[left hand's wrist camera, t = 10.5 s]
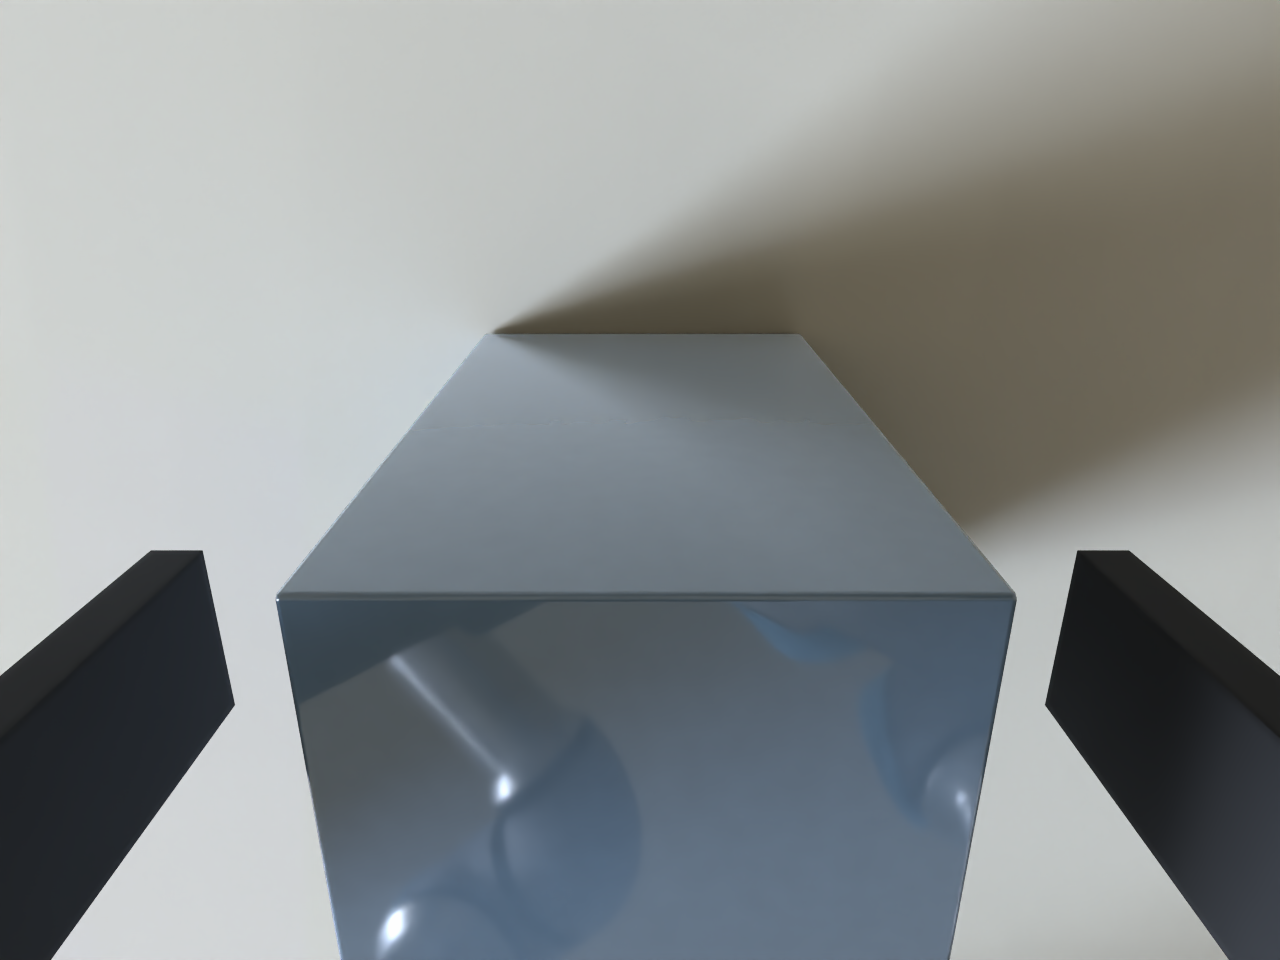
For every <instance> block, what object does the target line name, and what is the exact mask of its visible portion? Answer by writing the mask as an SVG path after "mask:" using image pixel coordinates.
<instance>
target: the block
mask: <svg viewBox="0 0 1280 960" xmlns="http://www.w3.org/2000/svg"><path fill="white" fill-rule="evenodd" d="M1016 601H1017V597H1016V594H1015V592H1014V591H1013V589H1012V588H1011V587H1010V586H1009V585H1008V583H1007V582H1006V581H1005V580H1004V579H1003V577H1002V576H1001V575H1000V574H999V573H998V571H997V570H996V569H995V568H994V567H993V565H992V564H991V563H990V562H989V561H988V559H987V558H986V557H985V556H984V555H983V553H982V552H981V551H980V550H979V549H978V547H977V546H976V545H975V544H974V543H973V541H972V540H971V539H970V538H969V537H968V535H967V534H966V533H965V532H964V531H963V529H962V528H961V527H960V526H959V525H958V523H957V522H956V521H955V520H954V519H953V517H952V516H951V515H950V514H949V513H948V511H947V510H946V509H945V508H944V507H943V505H942V504H941V503H940V502H939V501H938V499H937V498H936V497H935V496H934V495H933V493H932V492H931V491H930V490H929V488H928V487H927V486H926V485H925V484H924V482H923V481H922V480H921V479H920V478H919V476H918V475H917V474H916V473H915V472H914V470H913V469H912V468H911V467H910V466H909V464H908V463H907V462H906V461H905V460H904V458H903V457H902V456H901V455H900V454H899V452H898V451H897V450H896V449H895V448H894V446H893V445H892V444H891V443H890V442H889V440H888V439H887V438H886V437H885V436H884V434H883V433H882V432H881V431H880V430H879V428H878V427H877V426H876V425H875V424H874V422H873V421H872V420H871V419H870V418H869V416H868V415H867V414H866V413H865V412H864V410H863V409H862V408H861V407H860V406H859V404H858V403H857V402H856V401H855V400H854V398H853V397H852V396H851V395H850V393H849V392H848V391H847V390H846V389H845V387H844V386H843V385H842V384H841V383H840V381H839V380H838V379H837V378H836V377H835V375H834V374H833V373H832V372H831V371H830V369H829V368H828V367H827V366H826V365H825V363H824V362H823V361H822V360H821V359H820V357H819V356H818V355H817V354H816V353H815V351H814V350H813V349H812V348H811V347H810V345H809V344H808V343H807V342H806V341H805V339H804V338H803V337H802V336H801V335H800V334H485V335H484V336H483V337H482V338H481V340H480V341H479V342H478V343H477V345H476V346H475V347H474V348H473V350H472V351H471V352H470V353H469V355H468V356H467V357H466V358H465V360H464V361H463V362H462V363H461V365H460V366H459V367H458V368H457V370H456V371H455V372H454V373H453V375H452V376H451V377H450V378H449V380H448V381H447V382H446V383H445V385H444V386H443V387H442V388H441V389H440V391H439V392H438V393H437V394H436V396H435V397H434V398H433V399H432V401H431V402H430V403H429V404H428V406H427V407H426V408H425V409H424V411H423V412H422V413H421V414H420V416H419V417H418V418H417V419H416V421H415V422H414V423H413V424H412V426H411V427H410V428H409V429H408V431H407V432H406V433H405V434H404V436H403V437H402V438H401V439H400V441H399V442H398V443H397V444H396V446H395V447H394V448H393V449H392V450H391V452H390V453H389V454H388V455H387V457H386V458H385V459H384V460H383V462H382V463H381V464H380V465H379V467H378V468H377V469H376V470H375V472H374V473H373V474H372V475H371V477H370V478H369V479H368V480H367V482H366V483H365V484H364V485H363V487H362V488H361V489H360V490H359V492H358V493H357V494H356V495H355V497H354V498H353V499H352V500H351V502H350V503H349V504H348V505H347V507H346V508H345V509H344V510H343V511H342V513H341V514H340V515H339V516H338V518H337V519H336V520H335V521H334V523H333V524H332V525H331V526H330V528H329V529H328V530H327V531H326V533H325V534H324V535H323V536H322V538H321V539H320V540H319V541H318V543H317V544H316V545H315V546H314V548H313V549H312V550H311V551H310V553H309V554H308V555H307V556H306V558H305V559H304V560H303V561H302V563H301V564H300V565H299V566H298V567H297V569H296V570H295V571H294V572H293V574H292V575H291V576H290V577H289V579H288V580H287V581H286V582H285V584H284V585H283V586H282V587H281V589H280V590H279V591H278V592H277V595H276V604H277V610H278V615H279V621H280V626H281V632H282V637H283V643H284V648H285V654H286V660H287V665H288V671H289V676H290V682H291V687H292V693H293V698H294V704H295V709H296V715H297V721H298V726H299V732H300V737H301V743H302V748H303V754H304V759H305V765H306V770H307V776H308V782H309V787H310V793H311V798H312V804H313V809H314V815H315V820H316V826H317V832H318V837H319V843H320V848H321V854H322V859H323V865H324V870H325V876H326V881H327V887H328V893H329V898H330V904H331V909H332V915H333V920H334V926H335V931H336V937H337V942H338V948H339V954H340V959H341V960H950V955H951V949H952V944H953V939H954V933H955V928H956V923H957V917H958V912H959V907H960V901H961V896H962V890H963V885H964V880H965V874H966V869H967V864H968V858H969V853H970V847H971V842H972V837H973V831H974V826H975V821H976V815H977V810H978V805H979V799H980V794H981V788H982V783H983V778H984V772H985V767H986V762H987V756H988V751H989V746H990V740H991V735H992V729H993V724H994V719H995V713H996V708H997V703H998V697H999V692H1000V686H1001V681H1002V676H1003V670H1004V665H1005V660H1006V654H1007V649H1008V644H1009V638H1010V633H1011V627H1012V622H1013V617H1014V611H1015V606H1016Z"/></svg>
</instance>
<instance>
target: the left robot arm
mask: <svg viewBox="0 0 1280 960" xmlns="http://www.w3.org/2000/svg"><path fill="white" fill-rule="evenodd" d="M234 705H235V703H234V698H233V694H232V689H231V684H230V679H229V674H228V670H227V665H226V660H225V655H224V651H223V646H222V641H221V636H220V632H219V627H218V622H217V617H216V612H215V608H214V603H213V598H212V593H211V589H210V584H209V579H208V574H207V570H206V565H205V560H204V555H203V551H150V552H149V553H147V554H146V555H145V556H144V557H143V558H141V559H140V560H139V561H138V562H137V563H135V564H134V565H133V566H132V567H131V568H129V569H128V570H127V571H126V572H125V573H123V574H122V575H121V576H120V577H119V578H117V579H116V580H115V581H114V582H113V583H111V584H110V585H109V586H108V587H107V588H105V589H104V590H103V591H102V592H101V593H99V594H98V595H97V596H96V597H95V598H93V599H92V600H91V601H90V602H89V603H87V604H86V605H85V606H84V607H83V608H81V609H80V610H79V611H78V612H77V613H75V614H74V615H73V616H72V617H70V618H69V619H68V620H67V621H66V622H64V623H63V624H62V625H61V626H60V627H58V628H57V629H56V630H55V631H54V632H52V633H51V634H50V635H49V636H48V637H46V638H45V639H44V640H43V641H42V642H40V643H39V644H38V645H37V646H36V647H34V648H33V649H32V650H31V651H30V652H28V653H27V654H26V655H25V656H24V657H22V658H21V659H20V660H19V661H18V662H16V663H15V664H14V665H13V666H12V667H10V668H9V669H8V670H7V671H6V672H4V673H3V674H2V675H1V676H0V960H51V959H52V958H53V956H54V955H55V953H56V952H57V951H58V949H59V948H60V946H61V945H62V944H63V942H64V941H65V940H66V938H67V937H68V935H69V934H70V933H71V931H72V930H73V928H74V927H75V926H76V924H77V923H78V922H79V920H80V919H81V917H82V916H83V915H84V913H85V912H86V910H87V909H88V908H89V906H90V905H91V904H92V902H93V901H94V899H95V898H96V897H97V895H98V894H99V892H100V891H101V890H102V888H103V887H104V886H105V884H106V883H107V881H108V880H109V879H110V877H111V876H112V874H113V873H114V872H115V870H116V869H117V868H118V866H119V865H120V863H121V862H122V861H123V859H124V858H125V856H126V855H127V854H128V852H129V851H130V850H131V848H132V847H133V845H134V844H135V843H136V841H137V840H138V838H139V837H140V836H141V834H142V833H143V832H144V830H145V829H146V827H147V826H148V825H149V823H150V822H151V820H152V819H153V818H154V816H155V815H156V813H157V812H158V811H159V809H160V808H161V807H162V805H163V804H164V802H165V801H166V800H167V798H168V797H169V795H170V794H171V793H172V791H173V790H174V789H175V787H176V786H177V784H178V783H179V782H180V780H181V779H182V777H183V776H184V775H185V773H186V772H187V771H188V769H189V768H190V766H191V765H192V764H193V762H194V761H195V759H196V758H197V757H198V755H199V754H200V753H201V751H202V750H203V748H204V747H205V746H206V744H207V743H208V741H209V740H210V739H211V737H212V736H213V735H214V733H215V732H216V730H217V729H218V728H219V726H220V725H221V723H222V722H223V721H224V719H225V718H226V717H227V715H228V714H229V712H230V711H231V710H232V708H233V707H234ZM1045 705H1046V707H1047V708H1048V710H1049V711H1050V712H1051V714H1052V715H1053V717H1054V718H1055V719H1056V721H1057V722H1058V723H1059V725H1060V726H1061V728H1062V729H1063V730H1064V732H1065V733H1066V735H1067V736H1068V737H1069V739H1070V740H1071V742H1072V743H1073V744H1074V746H1075V747H1076V748H1077V750H1078V751H1079V753H1080V754H1081V755H1082V757H1083V758H1084V760H1085V761H1086V762H1087V764H1088V765H1089V766H1090V768H1091V769H1092V771H1093V772H1094V773H1095V775H1096V776H1097V778H1098V779H1099V780H1100V782H1101V783H1102V784H1103V786H1104V787H1105V789H1106V790H1107V791H1108V793H1109V794H1110V796H1111V797H1112V798H1113V800H1114V801H1115V802H1116V804H1117V805H1118V807H1119V808H1120V809H1121V811H1122V812H1123V814H1124V815H1125V816H1126V818H1127V819H1128V820H1129V822H1130V823H1131V825H1132V826H1133V827H1134V829H1135V830H1136V832H1137V833H1138V834H1139V836H1140V837H1141V838H1142V840H1143V841H1144V843H1145V844H1146V845H1147V847H1148V848H1149V850H1150V851H1151V852H1152V854H1153V855H1154V856H1155V858H1156V859H1157V861H1158V862H1159V863H1160V865H1161V866H1162V868H1163V869H1164V870H1165V872H1166V873H1167V874H1168V876H1169V877H1170V879H1171V880H1172V881H1173V883H1174V884H1175V886H1176V887H1177V888H1178V890H1179V891H1180V892H1181V894H1182V895H1183V897H1184V898H1185V899H1186V901H1187V902H1188V904H1189V905H1190V906H1191V908H1192V909H1193V910H1194V912H1195V913H1196V915H1197V916H1198V917H1199V919H1200V920H1201V922H1202V923H1203V924H1204V926H1205V927H1206V928H1207V930H1208V931H1209V933H1210V934H1211V935H1212V937H1213V938H1214V940H1215V941H1216V942H1217V944H1218V945H1219V946H1220V948H1221V949H1222V951H1223V952H1224V953H1225V955H1226V956H1227V958H1228V959H1229V960H1280V676H1279V675H1278V674H1277V673H1276V672H1274V671H1273V670H1272V669H1271V668H1270V667H1268V666H1267V665H1266V664H1265V663H1264V662H1262V661H1261V660H1260V659H1259V658H1258V657H1256V656H1255V655H1254V654H1253V653H1252V652H1250V651H1249V650H1248V649H1247V648H1246V647H1244V646H1243V645H1242V644H1241V643H1240V642H1238V641H1237V640H1236V639H1235V638H1234V637H1232V636H1231V635H1230V634H1229V633H1228V632H1226V631H1225V630H1224V629H1223V628H1222V627H1220V626H1219V625H1218V624H1217V623H1216V622H1214V621H1213V620H1212V619H1211V618H1209V617H1208V616H1207V615H1206V614H1205V613H1203V612H1202V611H1201V610H1200V609H1199V608H1197V607H1196V606H1195V605H1194V604H1193V603H1191V602H1190V601H1189V600H1188V599H1187V598H1185V597H1184V596H1183V595H1182V594H1181V593H1179V592H1178V591H1177V590H1176V589H1175V588H1173V587H1172V586H1171V585H1170V584H1169V583H1167V582H1166V581H1165V580H1164V579H1163V578H1161V577H1160V576H1159V575H1158V574H1157V573H1155V572H1154V571H1153V570H1152V569H1151V568H1149V567H1148V566H1147V565H1146V564H1145V563H1143V562H1142V561H1141V560H1140V559H1139V558H1137V557H1136V556H1135V555H1134V554H1133V553H1131V552H1130V551H1077V555H1076V560H1075V565H1074V569H1073V574H1072V579H1071V584H1070V589H1069V593H1068V598H1067V603H1066V608H1065V612H1064V617H1063V622H1062V627H1061V631H1060V636H1059V641H1058V646H1057V651H1056V655H1055V660H1054V665H1053V670H1052V674H1051V679H1050V684H1049V689H1048V693H1047V698H1046V703H1045Z"/></svg>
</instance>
